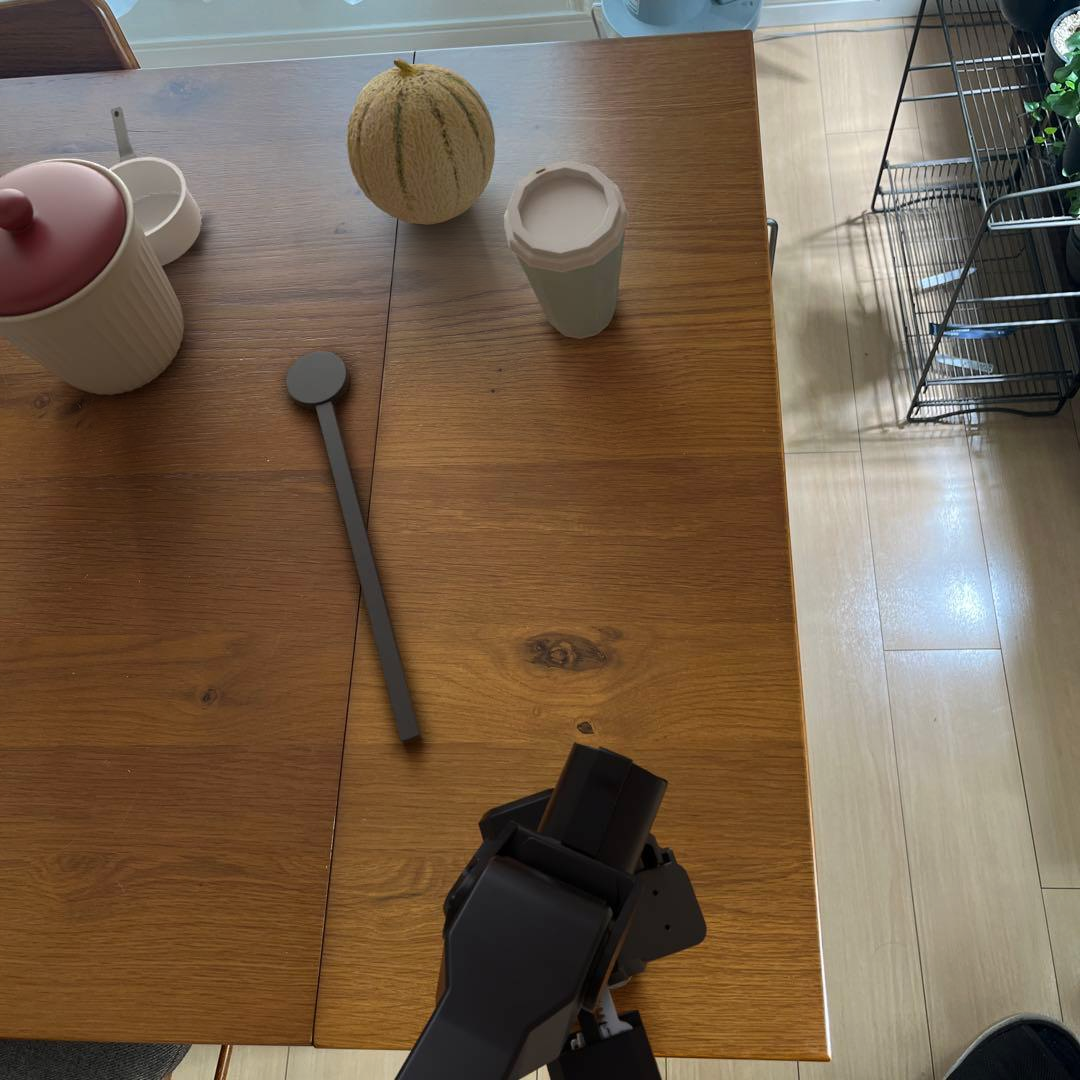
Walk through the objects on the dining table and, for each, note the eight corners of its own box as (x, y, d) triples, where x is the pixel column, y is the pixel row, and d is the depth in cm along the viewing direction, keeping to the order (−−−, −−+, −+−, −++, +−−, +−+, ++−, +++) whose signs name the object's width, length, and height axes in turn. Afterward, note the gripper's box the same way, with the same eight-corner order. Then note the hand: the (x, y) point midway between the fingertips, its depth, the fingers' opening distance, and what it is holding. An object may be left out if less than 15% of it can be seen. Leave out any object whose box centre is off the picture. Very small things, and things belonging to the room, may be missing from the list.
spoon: (448, 729, 78) (445, 725, 77) (378, 753, 78) (373, 750, 77) (342, 350, 95) (338, 343, 94) (284, 369, 95) (280, 362, 94)
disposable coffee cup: (653, 329, 92) (651, 217, 78) (553, 378, 91) (533, 273, 77) (602, 254, 96) (591, 136, 82) (506, 300, 95) (479, 188, 82)
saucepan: (188, 131, 110) (165, 90, 105) (217, 257, 102) (194, 219, 97) (92, 163, 110) (65, 124, 105) (114, 292, 102) (85, 256, 97)
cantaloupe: (407, 277, 98) (365, 165, 84) (347, 188, 104) (299, 70, 90) (532, 210, 99) (511, 90, 86) (466, 127, 106) (437, 2, 92)
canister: (227, 272, 101) (125, 108, 82) (197, 420, 94) (77, 278, 74) (66, 282, 103) (-70, 125, 84) (25, 427, 96) (-135, 291, 77)
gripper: (758, 1078, 49) (737, 1055, 63) (633, 737, 57) (639, 784, 71) (553, 1152, 49) (578, 1112, 63) (456, 799, 57) (497, 833, 71)
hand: (577, 950), depth 67 cm, fingers open, 8 cm apart
